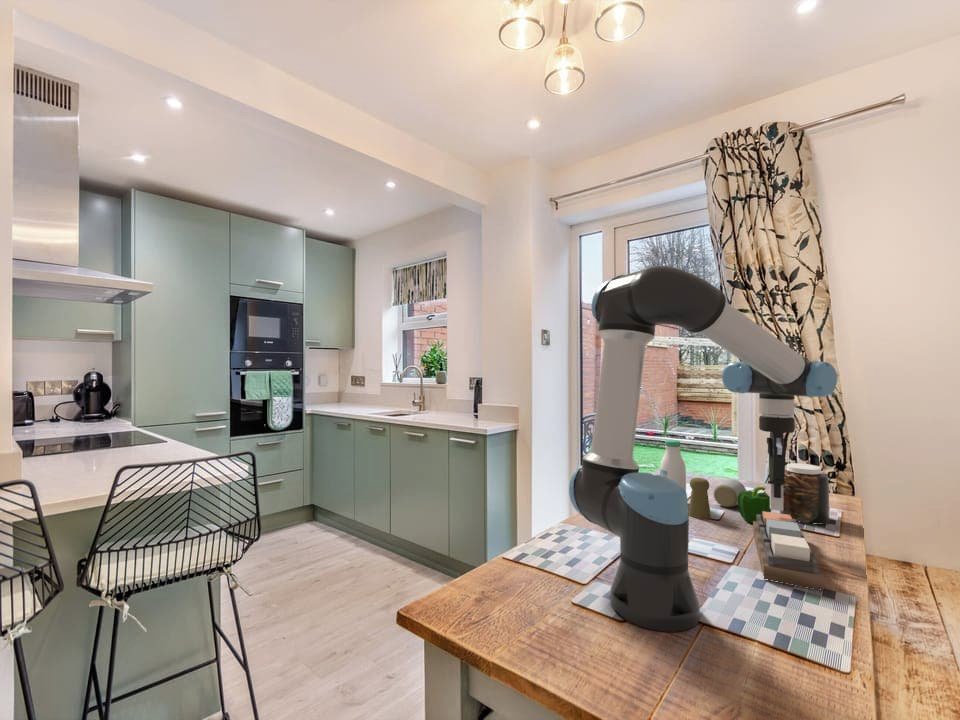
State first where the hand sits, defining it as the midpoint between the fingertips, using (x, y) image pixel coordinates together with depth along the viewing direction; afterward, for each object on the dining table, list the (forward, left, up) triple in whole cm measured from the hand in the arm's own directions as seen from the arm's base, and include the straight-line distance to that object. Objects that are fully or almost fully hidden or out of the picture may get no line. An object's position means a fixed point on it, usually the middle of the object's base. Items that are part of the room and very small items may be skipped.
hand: (776, 509), depth 114 cm
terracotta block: (0, 0, -5) cm, 5 cm away
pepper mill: (+13, +18, -8) cm, 23 cm away
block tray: (-10, 0, -8) cm, 13 cm away
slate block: (-10, 0, -4) cm, 11 cm away
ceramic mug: (+28, +8, -8) cm, 31 cm away
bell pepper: (+15, +4, -8) cm, 17 cm away
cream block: (-21, 0, -4) cm, 21 cm away
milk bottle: (+23, +26, -8) cm, 35 cm away
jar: (+25, -9, -8) cm, 28 cm away
